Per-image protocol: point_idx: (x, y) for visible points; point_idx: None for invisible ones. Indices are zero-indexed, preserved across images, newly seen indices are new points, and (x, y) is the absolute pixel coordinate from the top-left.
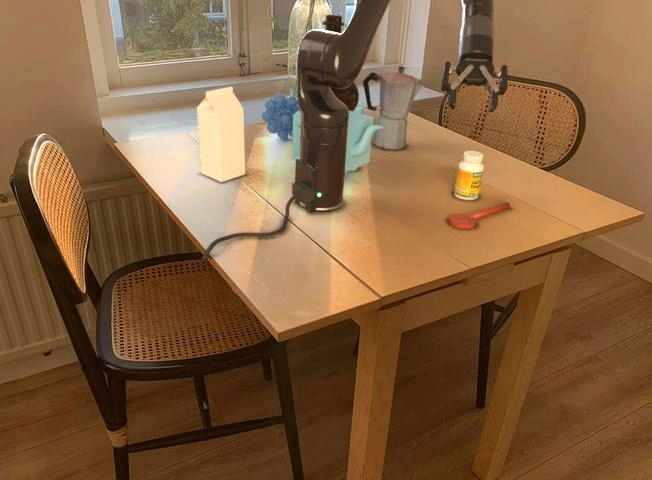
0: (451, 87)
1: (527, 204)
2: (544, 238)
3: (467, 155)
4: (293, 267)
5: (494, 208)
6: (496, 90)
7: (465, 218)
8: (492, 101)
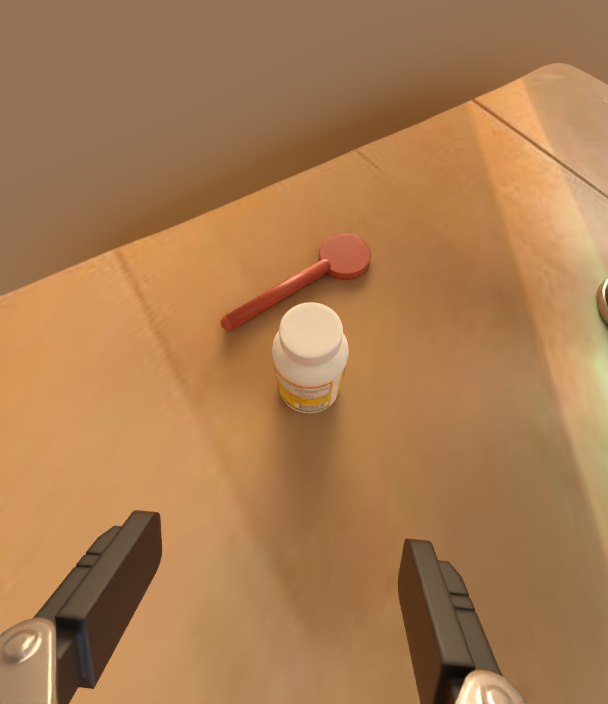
0: (512, 696)
1: (168, 351)
2: (205, 222)
3: (335, 313)
4: (596, 135)
5: (267, 291)
6: (28, 637)
7: (339, 255)
8: (130, 544)
